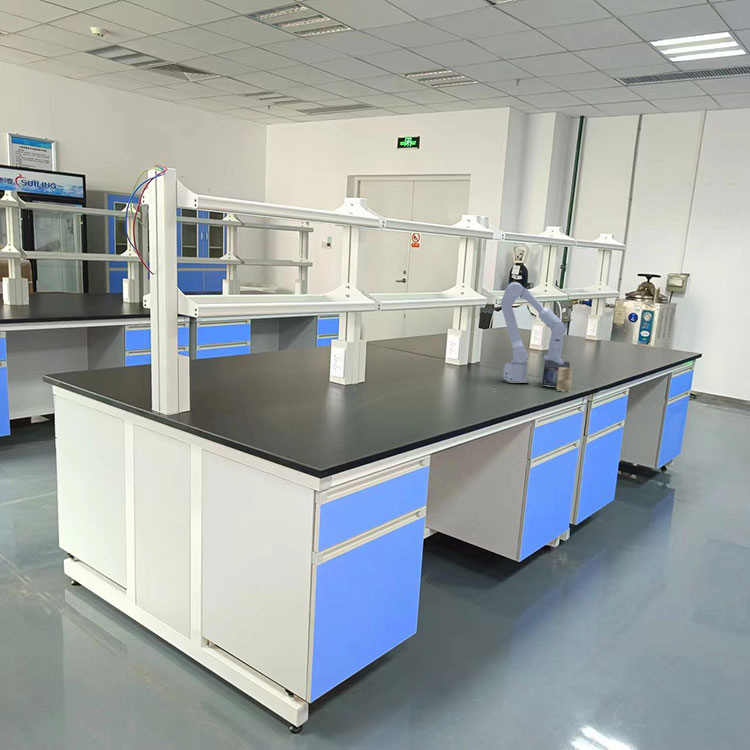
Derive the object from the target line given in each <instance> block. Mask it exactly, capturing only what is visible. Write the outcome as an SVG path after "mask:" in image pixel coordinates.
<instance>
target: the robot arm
mask: <svg viewBox="0 0 750 750" xmlns="http://www.w3.org/2000/svg"><path fill="white" fill-rule="evenodd" d="M519 298H520V299H522V300H525V301H526V302H528V303H529V304H530V305H531V306H532V307H533V308H534V310H535V311H537V312H538V318H539V319H540V321H542V322H543V324H545V326H546V327H547V328H549V329H550V331H551V334H550V338H549V345H548V350H547V355H544V356H543V361H545V360H552V361H554V362H556V363H558V364H559V365H562V364H564V362H565V361H564V359H562V353H563V347H564V341H565V340H564V338H565V334H566V332H567V328H566V325H565V324H564V323H563V321H562V319H561V318H560V317H558V316H557V315H556V314H555V313H554V310H553V308H552V309H551V308H549V307H544V306H543V304H542V303H540V302H539V300H538V299H537V298H536V297H535V295H534V294H533V293H532V292H531V291H530V290H529V289H527V288H525V287H524V286H523V285H522V284H521V283H519V282H517V281H512V282H510V283H509V284H508V285H507V287H506V288H505V289H504V292H503V295H502V299H501V301H500V307H501V311H502V314H503V318H504V322H505V325H506V328H507V333H508V335H509V339H510V343H511V347H512V353H511V354H512V357H513V358H512V359H511V360H510V362H505V364H504V367H503V373H502V374H503V375H502V376H503V377H502V379H503V378H504V379H506V380H508V381H519V382H524V381H526V378H527V371H528V370H527V369H528V359H529V354H528V351H527V350H526V348H525V347H524V343H523V341H522V338H521V333H520V330H519V327H518V323H517V319H516V316H515V312H514V308H513V305H514V304H515V302H516V300H517V299H519ZM526 382H527V381H526Z"/></svg>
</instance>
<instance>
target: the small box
mask: <svg viewBox="0 0 750 750" xmlns="http://www.w3.org/2000/svg"><path fill="white" fill-rule="evenodd" d="M563 362H564V364H562V365H559V364H558V363H556V362H554V361H552V360H544V366H543V372H542V373H543V374H542V384H541V386H542V385H550V386H557V378H558V370H559V368H571V367H570V365H571V364H570V361H563Z"/></svg>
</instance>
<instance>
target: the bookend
mask: <svg viewBox="0 0 750 750" xmlns="http://www.w3.org/2000/svg"><path fill="white" fill-rule="evenodd" d="M573 373H574V368H573V367H570V368H559V370H558V378H557V386H556V388H555V390H556V389H562V390H565V391H572V392H573V390H572V389H571V388H572V381H573V380H572V379H573Z"/></svg>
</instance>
